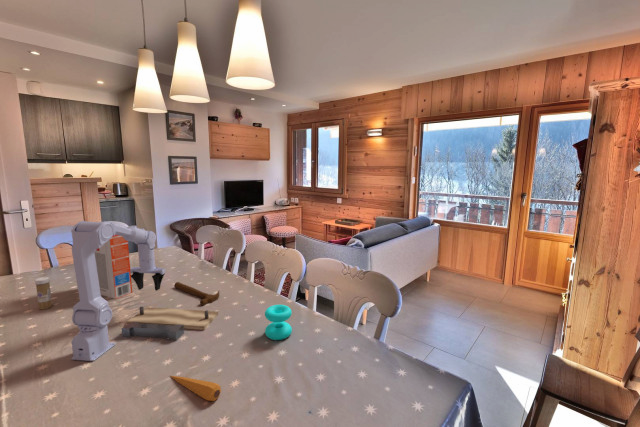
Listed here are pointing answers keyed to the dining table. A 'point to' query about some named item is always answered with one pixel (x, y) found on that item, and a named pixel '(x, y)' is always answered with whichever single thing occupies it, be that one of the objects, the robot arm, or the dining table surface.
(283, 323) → the donuts
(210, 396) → the carrot
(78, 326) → the robot arm
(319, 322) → the dining table surface
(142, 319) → the oak board
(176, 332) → the drawer pull handle
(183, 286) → the hammer
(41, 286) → the sprinkles bottle
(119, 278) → the pasta box
